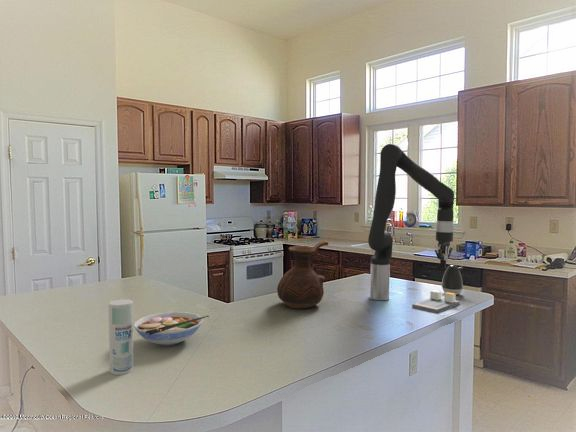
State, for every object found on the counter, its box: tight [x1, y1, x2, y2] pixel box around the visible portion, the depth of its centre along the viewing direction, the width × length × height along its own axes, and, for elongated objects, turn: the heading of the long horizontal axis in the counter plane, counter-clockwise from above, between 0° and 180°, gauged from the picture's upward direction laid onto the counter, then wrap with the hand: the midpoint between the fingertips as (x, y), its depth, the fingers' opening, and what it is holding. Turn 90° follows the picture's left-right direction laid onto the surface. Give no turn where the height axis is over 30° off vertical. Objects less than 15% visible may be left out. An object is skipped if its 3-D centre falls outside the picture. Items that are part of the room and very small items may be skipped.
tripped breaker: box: [443, 292, 457, 303], centre depth 197 cm, size 3×4×4 cm
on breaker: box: [429, 289, 442, 300], centre depth 202 cm, size 3×4×4 cm
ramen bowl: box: [133, 311, 210, 347], centre depth 146 cm, size 25×23×8 cm
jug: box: [276, 239, 329, 310], centre depth 194 cm, size 22×22×30 cm
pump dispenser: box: [441, 264, 464, 296], centre depth 218 cm, size 10×10×15 cm
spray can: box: [107, 299, 134, 376], centre depth 122 cm, size 6×6×20 cm
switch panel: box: [411, 296, 461, 314], centre depth 196 cm, size 22×12×2 cm, turn 133°
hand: (443, 268), depth 196 cm, fingers closed
